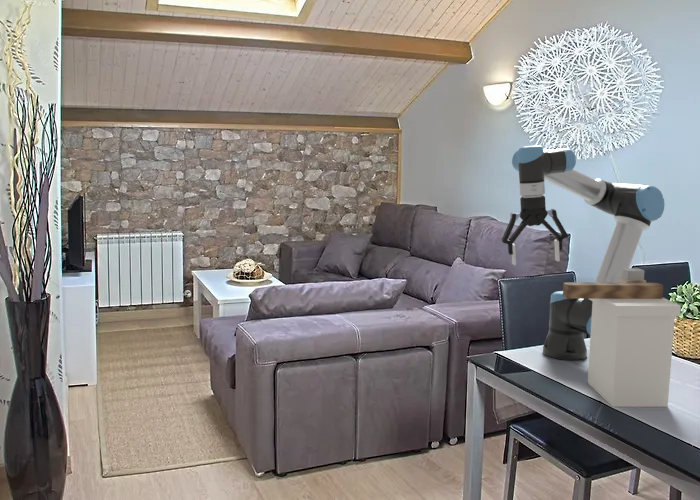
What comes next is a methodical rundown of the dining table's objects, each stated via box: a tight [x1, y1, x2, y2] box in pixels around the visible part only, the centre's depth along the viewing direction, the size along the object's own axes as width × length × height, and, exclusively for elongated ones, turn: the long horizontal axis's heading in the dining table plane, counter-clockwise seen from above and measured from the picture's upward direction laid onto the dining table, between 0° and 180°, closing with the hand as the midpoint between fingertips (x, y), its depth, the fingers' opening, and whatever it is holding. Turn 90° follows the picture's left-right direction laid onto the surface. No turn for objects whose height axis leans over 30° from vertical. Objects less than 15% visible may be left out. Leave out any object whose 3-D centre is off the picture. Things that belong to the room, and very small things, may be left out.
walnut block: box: [562, 281, 664, 299], centre depth 200 cm, size 28×4×4 cm, turn 90°
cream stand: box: [587, 297, 682, 408], centre depth 203 cm, size 18×22×30 cm
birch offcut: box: [619, 278, 647, 283], centre depth 208 cm, size 6×5×4 cm
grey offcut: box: [622, 267, 645, 280], centre depth 207 cm, size 5×4×3 cm
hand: (535, 262), depth 215 cm, fingers open, 13 cm apart
